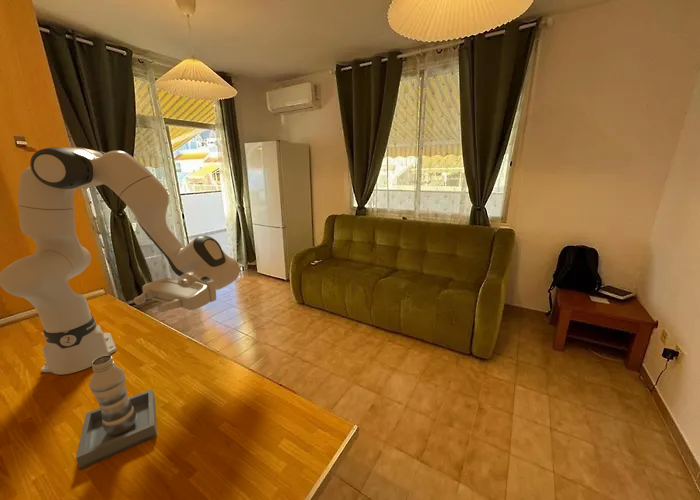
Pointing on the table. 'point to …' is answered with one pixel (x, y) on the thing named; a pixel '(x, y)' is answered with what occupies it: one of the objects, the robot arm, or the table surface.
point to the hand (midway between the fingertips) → (147, 305)
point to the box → (104, 445)
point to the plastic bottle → (112, 396)
